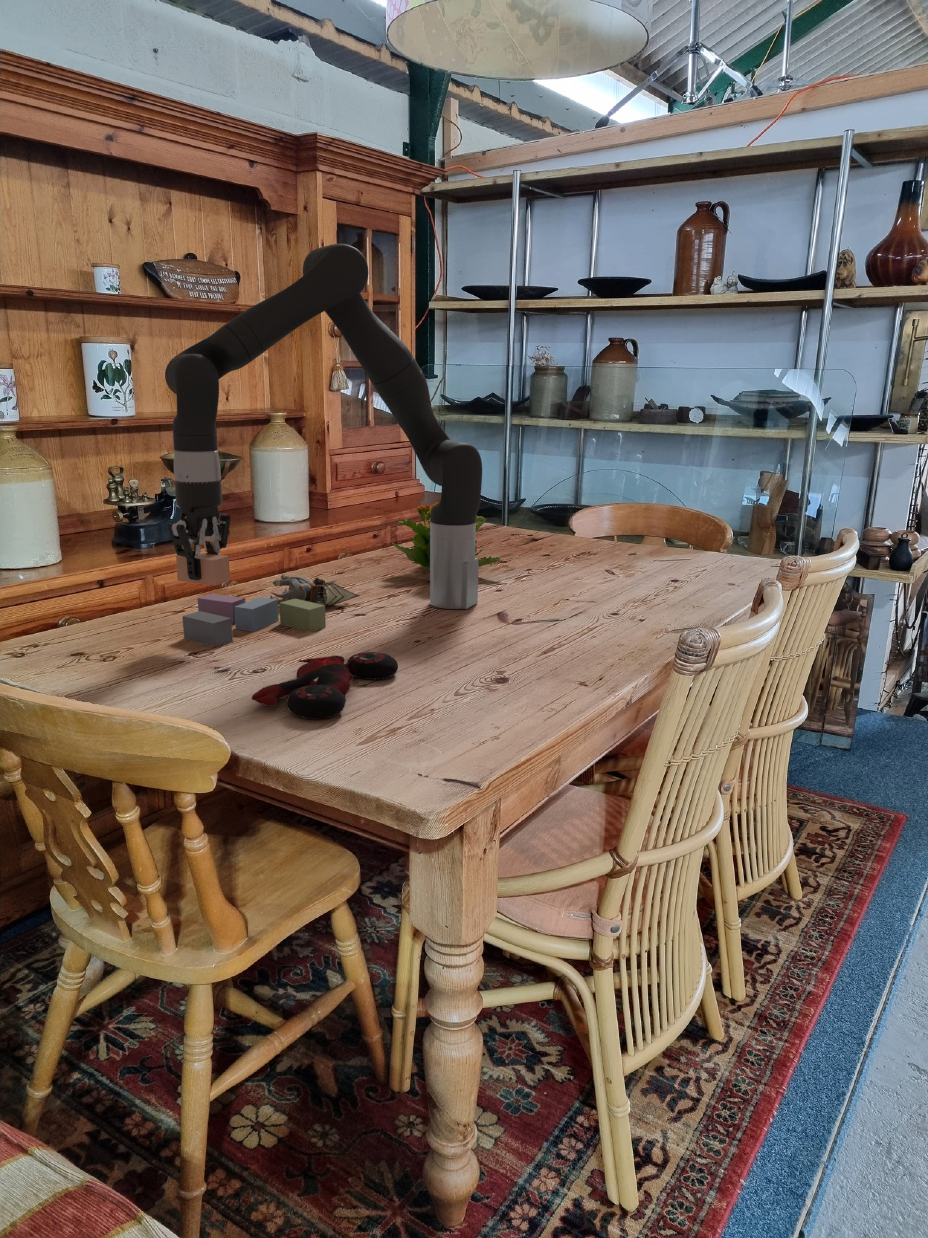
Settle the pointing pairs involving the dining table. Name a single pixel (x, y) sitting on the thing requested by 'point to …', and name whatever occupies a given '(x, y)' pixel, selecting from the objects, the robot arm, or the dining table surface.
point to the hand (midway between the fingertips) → (203, 576)
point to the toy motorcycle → (326, 683)
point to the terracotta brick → (206, 569)
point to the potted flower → (422, 539)
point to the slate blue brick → (256, 614)
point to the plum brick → (220, 605)
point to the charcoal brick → (207, 628)
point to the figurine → (312, 590)
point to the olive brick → (302, 615)
